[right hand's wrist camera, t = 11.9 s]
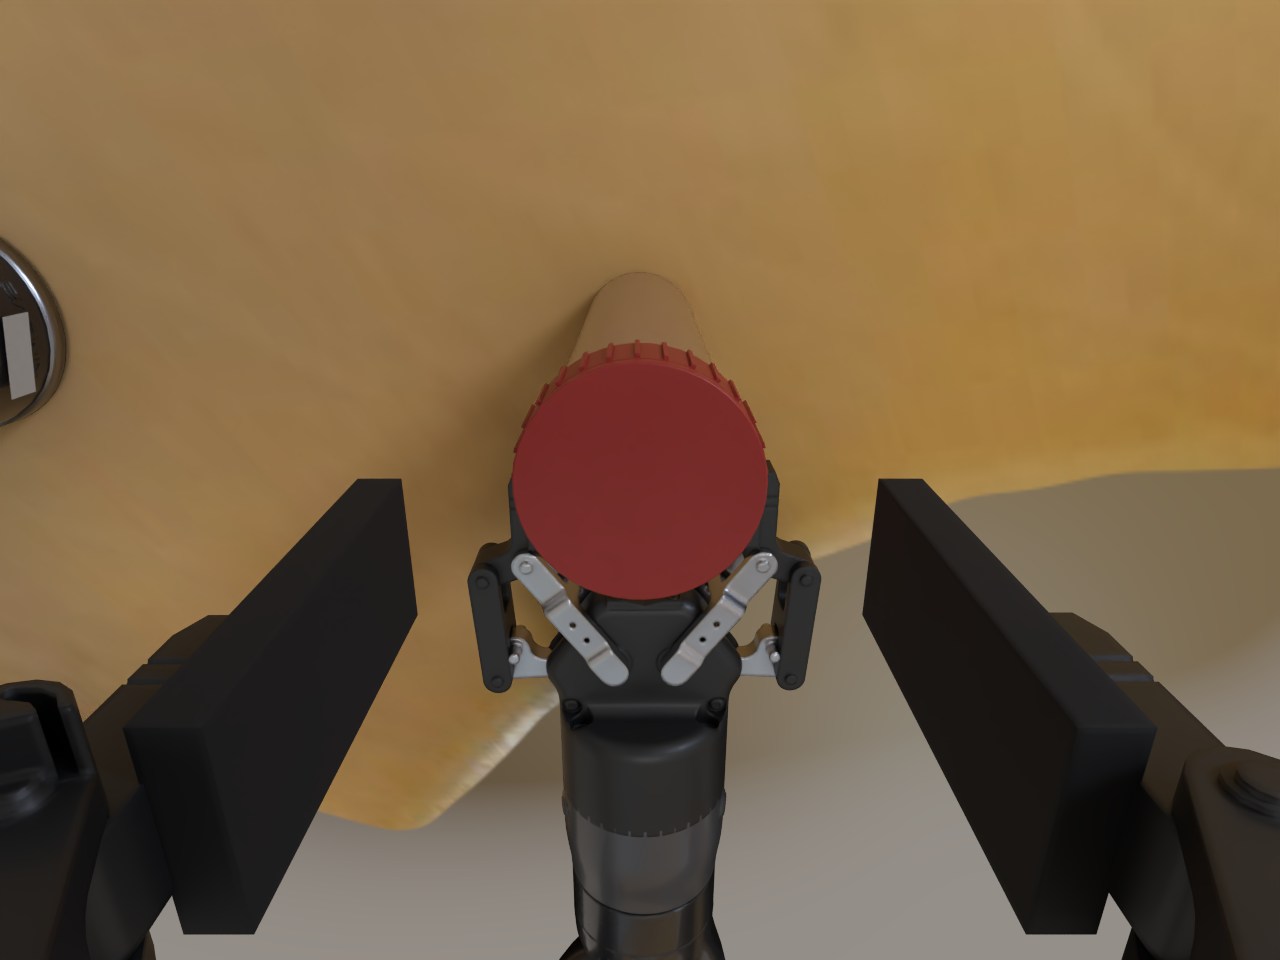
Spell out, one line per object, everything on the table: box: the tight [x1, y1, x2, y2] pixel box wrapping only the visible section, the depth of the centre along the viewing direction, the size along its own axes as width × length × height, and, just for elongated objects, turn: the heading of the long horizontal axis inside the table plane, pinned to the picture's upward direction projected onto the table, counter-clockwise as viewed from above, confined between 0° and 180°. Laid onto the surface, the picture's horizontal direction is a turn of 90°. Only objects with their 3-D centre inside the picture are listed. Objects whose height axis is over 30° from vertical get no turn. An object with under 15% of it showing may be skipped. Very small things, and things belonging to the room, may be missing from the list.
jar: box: [567, 272, 711, 367], centre depth 26 cm, size 5×5×19 cm
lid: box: [512, 340, 768, 600], centre depth 17 cm, size 6×6×2 cm
